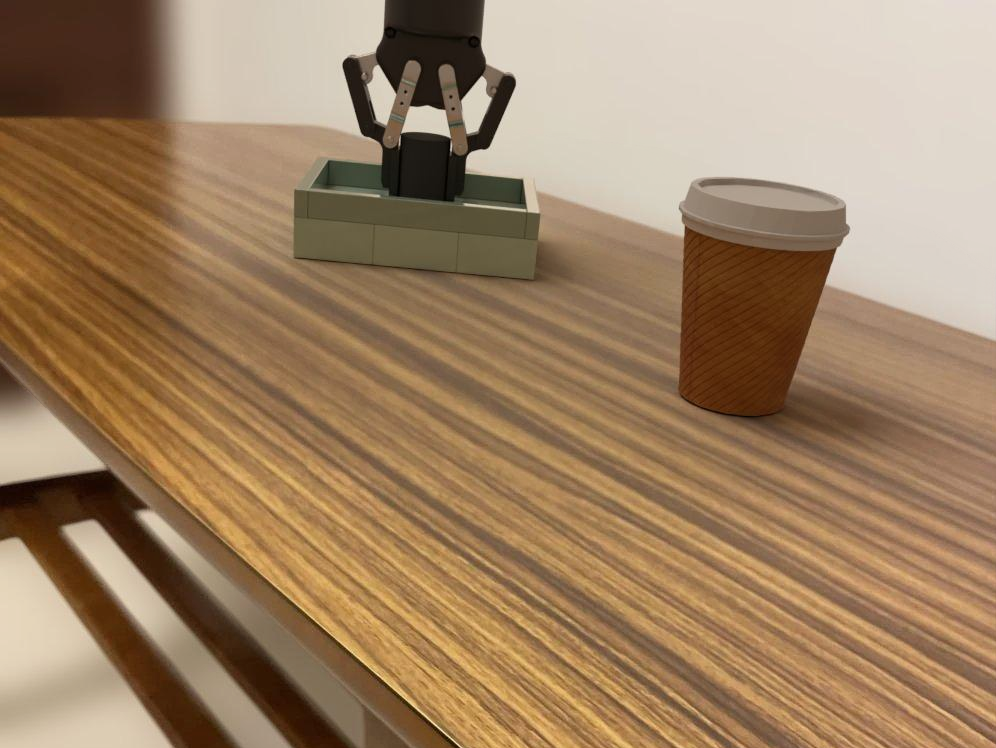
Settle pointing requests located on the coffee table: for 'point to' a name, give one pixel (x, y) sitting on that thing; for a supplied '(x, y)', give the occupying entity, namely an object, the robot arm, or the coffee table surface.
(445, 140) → the stopper
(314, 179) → the basin rim
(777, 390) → the disposable coffee cup
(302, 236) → the green tray
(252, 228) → the coffee table surface
